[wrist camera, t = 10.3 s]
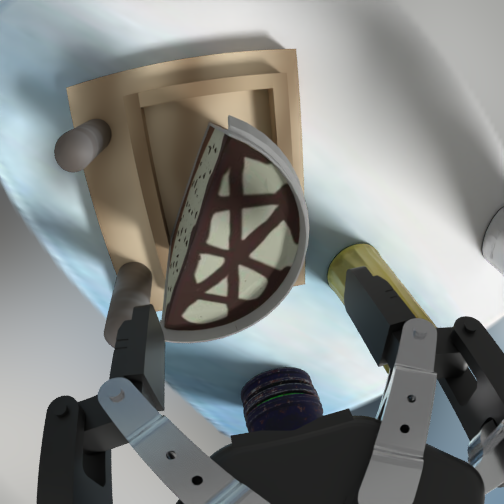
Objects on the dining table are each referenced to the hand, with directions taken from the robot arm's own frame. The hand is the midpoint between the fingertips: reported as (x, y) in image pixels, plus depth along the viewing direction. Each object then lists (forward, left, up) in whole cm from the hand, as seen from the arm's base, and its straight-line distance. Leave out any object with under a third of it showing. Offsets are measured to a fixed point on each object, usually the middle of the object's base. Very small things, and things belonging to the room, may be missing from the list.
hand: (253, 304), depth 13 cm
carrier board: (+2, 0, -15) cm, 15 cm away
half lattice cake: (0, 0, -13) cm, 13 cm away
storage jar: (-3, +29, -15) cm, 33 cm away
